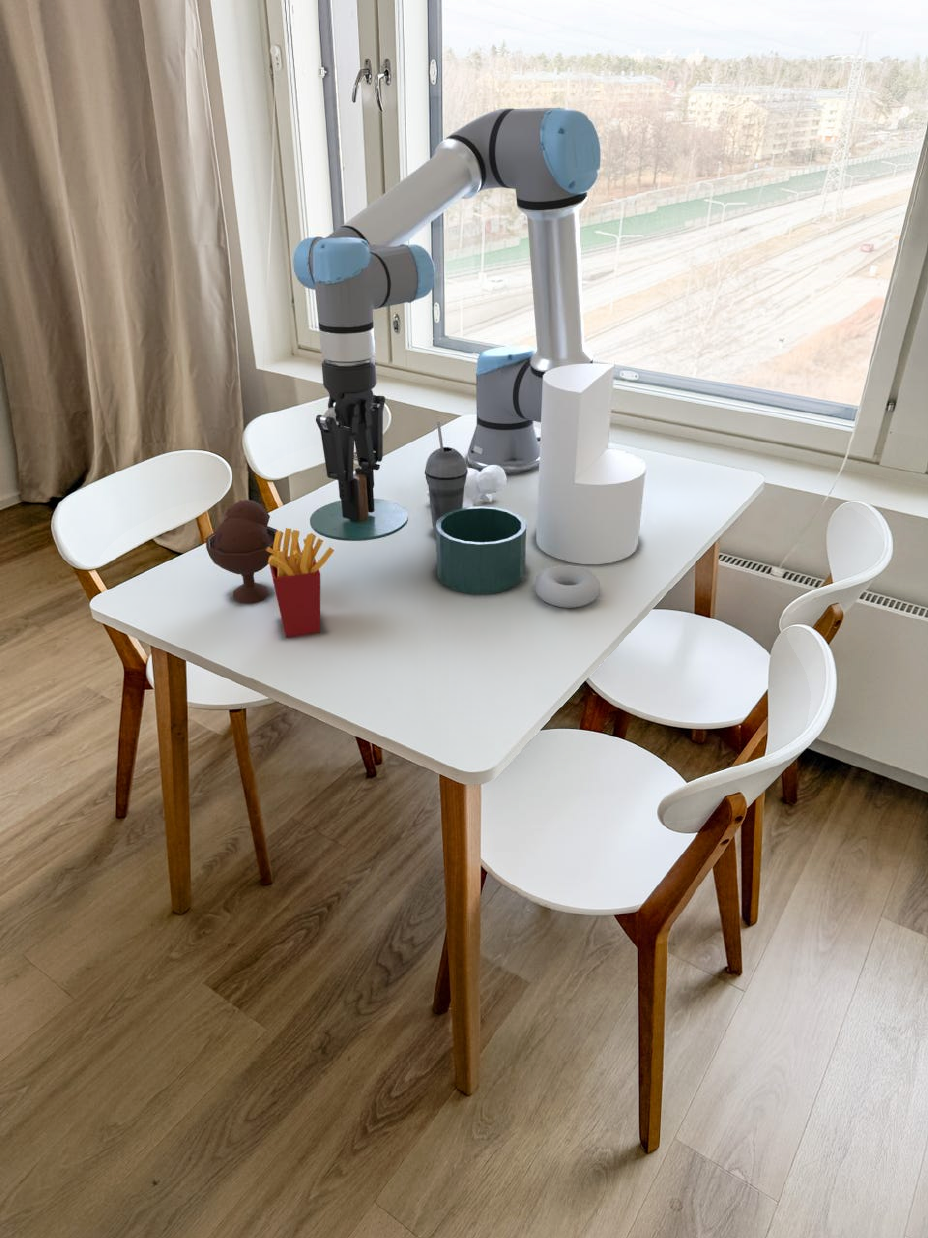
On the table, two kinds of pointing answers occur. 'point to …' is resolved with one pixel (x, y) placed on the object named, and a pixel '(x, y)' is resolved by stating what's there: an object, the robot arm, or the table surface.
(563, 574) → the donut
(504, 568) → the tin
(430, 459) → the beverage cup
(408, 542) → the table surface
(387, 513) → the tin lid
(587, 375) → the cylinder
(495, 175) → the robot arm
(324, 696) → the table surface
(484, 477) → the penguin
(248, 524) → the ice cream bowl
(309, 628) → the french fries
